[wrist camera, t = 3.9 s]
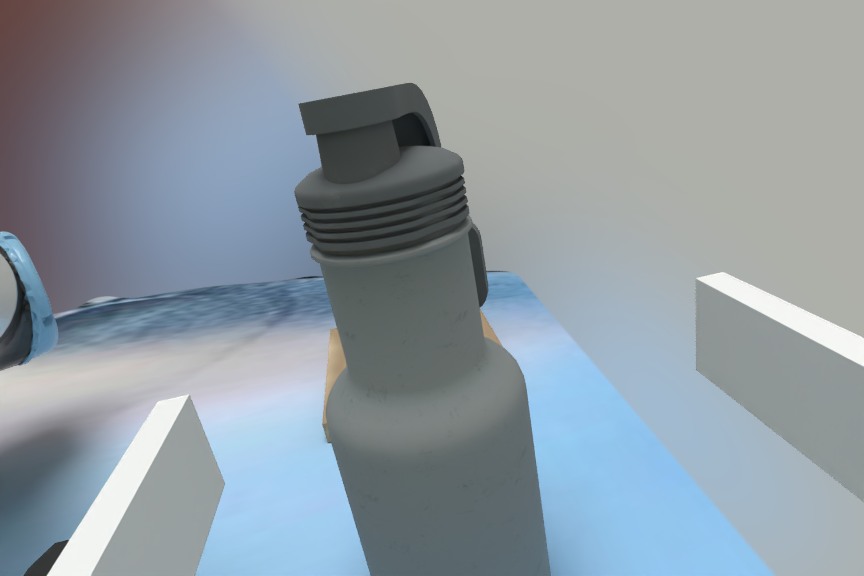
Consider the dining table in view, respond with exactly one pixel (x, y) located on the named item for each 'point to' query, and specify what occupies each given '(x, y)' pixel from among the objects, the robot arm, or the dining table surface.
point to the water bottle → (417, 349)
